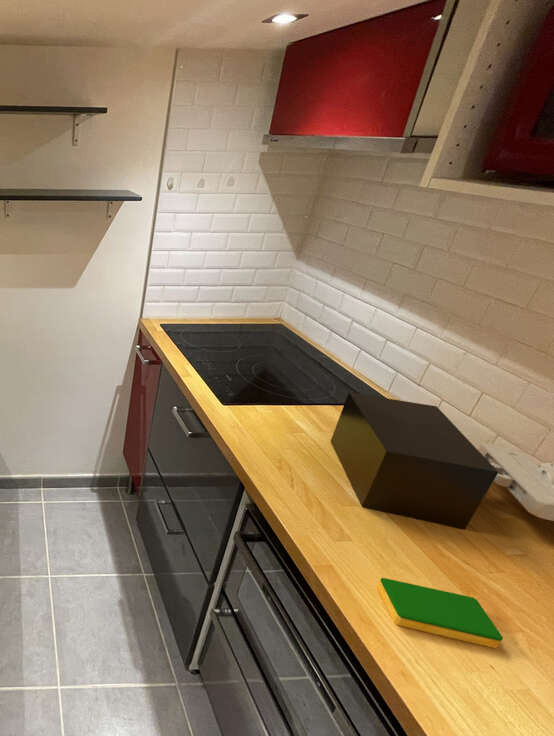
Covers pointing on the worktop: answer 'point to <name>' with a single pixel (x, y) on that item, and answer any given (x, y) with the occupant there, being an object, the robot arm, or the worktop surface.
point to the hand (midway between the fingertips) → (476, 470)
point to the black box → (410, 460)
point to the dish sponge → (438, 612)
